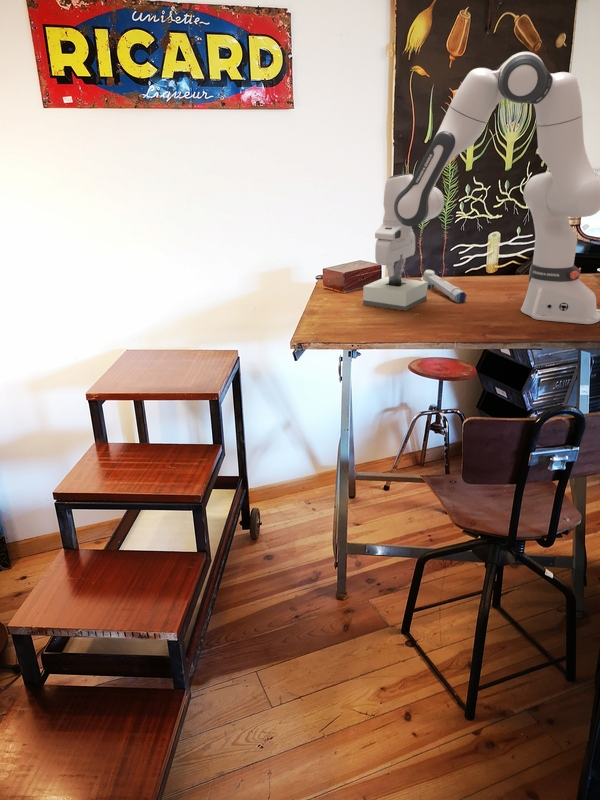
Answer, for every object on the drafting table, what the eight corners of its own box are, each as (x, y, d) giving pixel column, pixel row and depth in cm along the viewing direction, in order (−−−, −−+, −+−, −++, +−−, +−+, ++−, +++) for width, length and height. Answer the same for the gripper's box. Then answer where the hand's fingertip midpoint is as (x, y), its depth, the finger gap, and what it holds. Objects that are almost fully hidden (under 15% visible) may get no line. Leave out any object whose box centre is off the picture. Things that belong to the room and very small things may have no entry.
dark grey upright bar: (403, 285, 192) (404, 253, 188) (397, 287, 189) (398, 255, 185) (392, 283, 194) (393, 252, 190) (386, 286, 192) (387, 254, 187)
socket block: (426, 299, 196) (427, 281, 193) (405, 311, 185) (405, 292, 182) (385, 294, 204) (386, 276, 202) (363, 304, 193) (363, 286, 191)
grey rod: (455, 292, 189) (419, 266, 209) (451, 312, 193) (417, 284, 213) (469, 290, 190) (432, 264, 211) (466, 310, 194) (430, 283, 214)
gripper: (403, 224, 194) (401, 267, 200) (372, 233, 179) (370, 279, 185) (421, 225, 191) (418, 269, 196) (390, 235, 176) (389, 282, 181)
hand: (395, 274), depth 190 cm, fingers closed on dark grey upright bar, 4 cm apart
